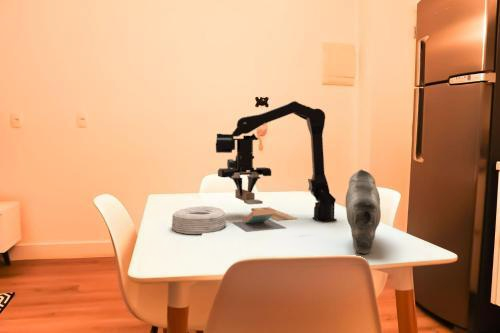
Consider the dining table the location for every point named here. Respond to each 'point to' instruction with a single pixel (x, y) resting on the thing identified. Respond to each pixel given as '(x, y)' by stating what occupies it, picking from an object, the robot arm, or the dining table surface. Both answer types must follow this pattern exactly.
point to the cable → (198, 220)
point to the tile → (258, 216)
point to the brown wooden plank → (247, 197)
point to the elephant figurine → (363, 210)
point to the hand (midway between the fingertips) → (244, 196)
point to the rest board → (277, 214)
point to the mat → (258, 226)
